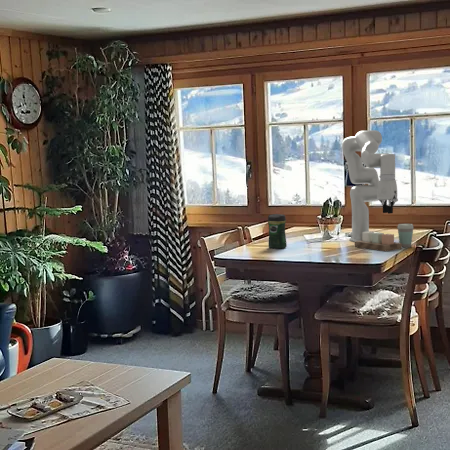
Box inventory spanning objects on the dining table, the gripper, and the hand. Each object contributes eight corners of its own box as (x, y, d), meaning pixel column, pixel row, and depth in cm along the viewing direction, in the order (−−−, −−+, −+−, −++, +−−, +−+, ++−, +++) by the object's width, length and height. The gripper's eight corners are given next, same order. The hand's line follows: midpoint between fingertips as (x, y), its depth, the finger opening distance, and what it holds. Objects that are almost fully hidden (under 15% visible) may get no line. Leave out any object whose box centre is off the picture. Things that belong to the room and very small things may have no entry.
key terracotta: (381, 243, 351) (381, 234, 350) (387, 243, 353) (387, 233, 353) (388, 244, 347) (388, 235, 347) (394, 243, 350) (394, 234, 349)
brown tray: (355, 246, 362) (355, 241, 362) (370, 244, 369) (370, 239, 369) (385, 251, 344) (385, 245, 344) (401, 248, 351) (401, 243, 350)
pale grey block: (362, 241, 363) (362, 232, 362) (368, 240, 365) (368, 231, 364) (368, 242, 359) (368, 232, 358) (374, 241, 361) (374, 232, 361)
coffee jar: (288, 247, 368) (288, 213, 365) (281, 249, 361) (280, 215, 359) (274, 246, 373) (273, 213, 371) (266, 248, 367) (265, 214, 365)
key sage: (371, 242, 357) (371, 233, 356) (377, 241, 359) (377, 232, 359) (378, 243, 353) (378, 234, 353) (383, 242, 356) (383, 233, 355)
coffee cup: (414, 247, 352) (414, 225, 351) (397, 247, 354) (397, 225, 353) (413, 245, 361) (413, 223, 359) (396, 245, 362) (396, 223, 361)
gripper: (371, 177, 351) (371, 212, 353) (394, 178, 338) (394, 214, 340) (381, 177, 355) (381, 211, 357) (404, 177, 342) (404, 213, 344)
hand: (387, 212), depth 348 cm, fingers open, 2 cm apart
